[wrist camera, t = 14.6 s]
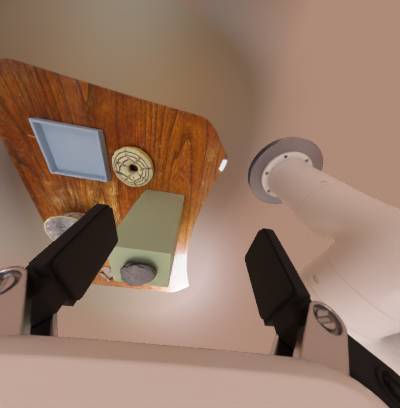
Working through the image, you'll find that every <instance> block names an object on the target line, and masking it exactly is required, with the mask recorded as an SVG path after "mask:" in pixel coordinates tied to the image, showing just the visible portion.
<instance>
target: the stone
mask: <svg viewBox="0 0 400 408" xmlns="http://www.w3.org/2000/svg"><path fill="white" fill-rule="evenodd" d="M120 274H121V279H122V281H123V282H124V283H126V284H128V285H130V286H139V285H144V284H146V283H149V282H151V281H152V280H153V279H154V278H155V276H156V274H157V270H156V269H155V267H154V266H152V265H150V264H146V263H141V262H135V261H128V262H126V263H125V265H123V267H121V269H120Z"/></svg>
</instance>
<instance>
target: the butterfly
mask: <svg viewBox="0 0 400 408" xmlns="http://www.w3.org/2000/svg"><path fill="white" fill-rule="evenodd" d="M102 270H103V272H104V273H105V274H103V273H100V275H102V277H104V279H105V280H106V281H108V282H109V283H110V281H109V279H110V278H111V277H113V275H112V271H111V269H109V267H108V266H106V267H104V268H102Z"/></svg>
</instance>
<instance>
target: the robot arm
mask: <svg viewBox="0 0 400 408" xmlns="http://www.w3.org/2000/svg"><path fill="white" fill-rule="evenodd" d="M261 185H262V187H263V189H264V190H265V192H266V193H267V194H269V195H271V196H274V197H278V198H279V199H280V200H281V201H282V202H283V204H284V205H285V206H286V207H287V208H288V210H289V211H290V212H291V213H292V214H293V216H294V217H295V218H296V219H297V220H298V221H299V222H300V224H301V225H302V226H303V227H304V228H305V229H306V230H307V231H309V232H310V233H312V234H314V235H317V236H319V237H323V238H327V239H334V240H335V242H334V243H333V244H332V245H331V246H330V247H329V248H328V249H327V250H326V251H325V252H323V253H322V254H321V255H320V256H318V257H317V258H316V259H315V260H313V261H312V262H311V263H310V264H308V265H307V266H306V267H305V268H304V269H303V270H301V271H300V272H299V274H298V273H297V271H296V270H295V268H294V266H293V264H292V262H291V261H290V259H289V257H288V255H287V254H286V252H285V250H284V248H283V247H282V245H281V243H280V241H279V240H278V238H277V236H276V235H275V233H274V231H273V230H270V229H262V230H260V231H259V232H258V233H257V235H256V237H255V239H254V241H253V243H252V244H251V246H250V248H249V250H248V252H247V254H246V256H245V262H246V266H247V269H248V273H249V277H250V281H251V284H252V288H253V292H254V295H255V299H256V303H257V307H258V311H259V314H260V317H261V318H262V319H263V320H264V324H265V325H266V326H274V327H275V330H276V335H275V339H274V342H273V345H272V348H271V351H270V355H268V354H259V353H248V352H237V351H226V350H215V349H204V348H192V347H180V346H169V345H156V344H145V343H132V342H120V341H108V340H96V339H83V338H71V337H58V328H57V312H58V310H59V309H60V307H61V306H62V305H65V306H73V305H74V304H75V303H76V301H77V300H80V299H81V298H82V297H83V295H84V294H85V292H86V291H87V289H88V288H89V286H90V284H91V283H92V281H93V280H94V278H95V277H96V275H97V274H98V272H99V271H100V269H101V268H102V266H103V265H104V263H105V261H106V260H107V258H108V257H109V255H110V254H111V252H112V251H113V249H114V248H115V246H116V245H117V243H118V235H117V230H116V225H115V220H114V215H113V210H112V208H110V206H109V205H104V204H96V205H95V206H94V207H92V208H91V209H90V210H89V211H88V212H87V213H86V214H84V215H83V216H82V217H81V218H80V219H79V220H78V221H76V222H75V223H74V224H73V225H72V226H71V227H70V228H68V229H67V230H66V231H65V232H64V233H63V234H61V235H60V236H59V237H58V238H57V239H56V240H55V241H53V242H52V243H51V244H50V245H49V246H48V247H47V248H45V249H44V250H43V251H42V252H41V253H40V254H39V255H37V256H36V257H35V258H34V259H33V260H32V261H31V262H29V265H28V266H27V267H26V268H24V267H20V266H11V267H7V268H3V269H0V408H400V209H397V208H395V207H393V206H390V205H388V204H385V203H383V202H381V201H378V200H376V199H374V198H372V197H370V196H367V195H365V194H364V193H362V192H360V191H358V190H356V189H354V188H352V187H350V186H348V185H346V184H344V183H342V182H341V181H339V180H337V179H335V178H333V177H331V176H329V175H327V174H325V173H323V172H322V171H320V170H318V169H316V168H314V167H313V165H312V162H311V160H310V158H309V157H308V156H307V155H305V154H303V153H301V152H296V151H290V152H285V153H282V154H280V155H278V156H276V157H275V158H273V159H272V160H271V161H270V162H269V163H268V164H267V165H266V167H265V168H264V170H263V172H262V175H261Z"/></svg>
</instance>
